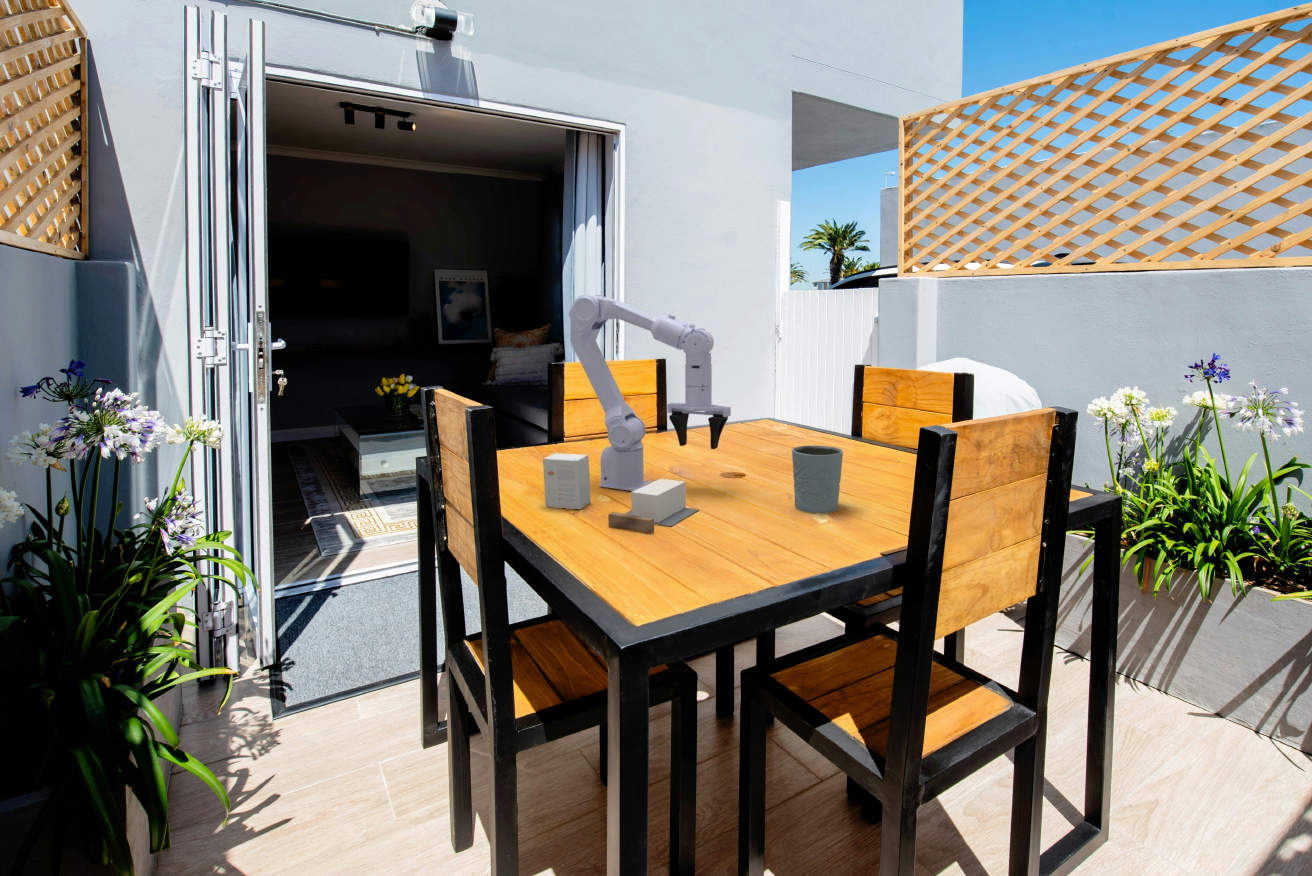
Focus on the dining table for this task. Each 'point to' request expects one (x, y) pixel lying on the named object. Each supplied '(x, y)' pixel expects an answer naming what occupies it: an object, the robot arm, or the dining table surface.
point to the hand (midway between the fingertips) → (698, 446)
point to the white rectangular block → (658, 499)
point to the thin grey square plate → (675, 517)
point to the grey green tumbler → (817, 478)
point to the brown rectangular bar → (631, 522)
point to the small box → (566, 481)
